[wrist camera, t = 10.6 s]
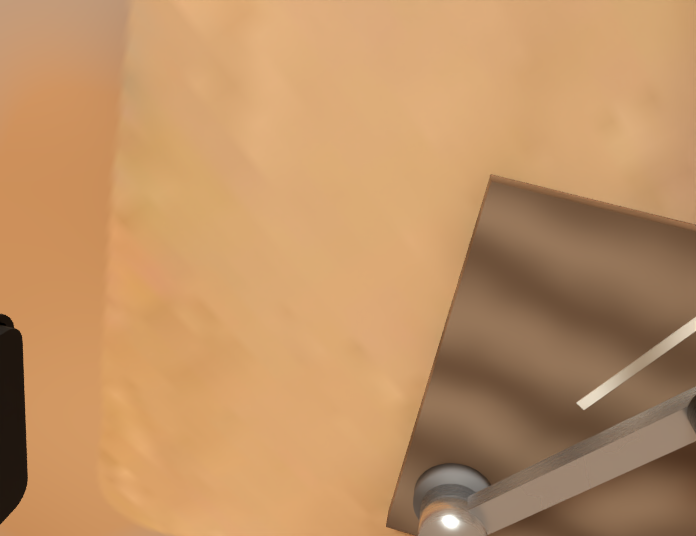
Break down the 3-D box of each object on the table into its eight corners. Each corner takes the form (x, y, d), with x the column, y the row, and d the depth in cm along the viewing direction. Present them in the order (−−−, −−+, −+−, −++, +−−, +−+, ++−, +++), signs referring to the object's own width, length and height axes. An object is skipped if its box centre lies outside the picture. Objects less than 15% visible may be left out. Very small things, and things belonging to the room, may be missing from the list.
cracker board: (490, 174, 34) (492, 186, 32) (856, 264, 33) (885, 283, 31) (388, 510, 44) (384, 537, 42) (669, 593, 42) (680, 626, 40)
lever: (714, 347, 33) (775, 430, 26) (753, 404, 34) (822, 499, 27) (407, 500, 40) (394, 597, 33) (445, 545, 41) (440, 648, 34)
